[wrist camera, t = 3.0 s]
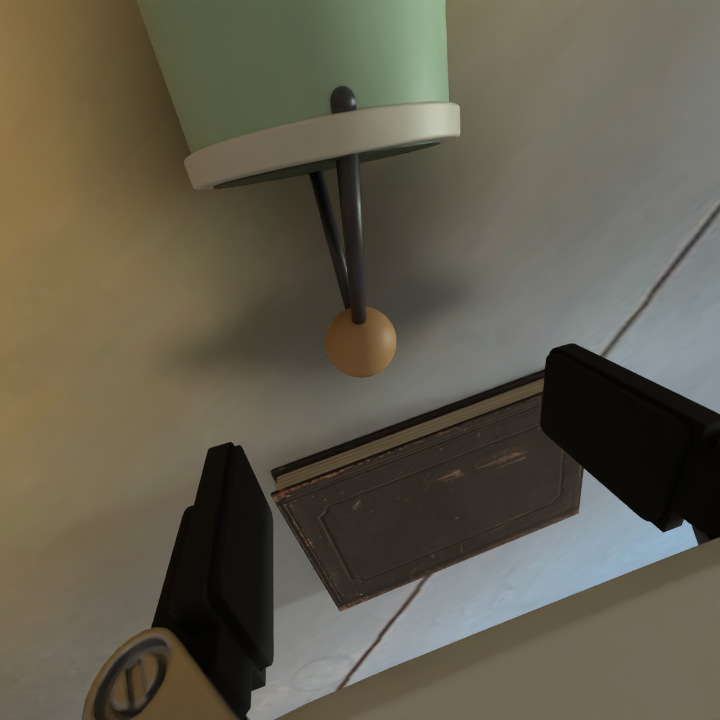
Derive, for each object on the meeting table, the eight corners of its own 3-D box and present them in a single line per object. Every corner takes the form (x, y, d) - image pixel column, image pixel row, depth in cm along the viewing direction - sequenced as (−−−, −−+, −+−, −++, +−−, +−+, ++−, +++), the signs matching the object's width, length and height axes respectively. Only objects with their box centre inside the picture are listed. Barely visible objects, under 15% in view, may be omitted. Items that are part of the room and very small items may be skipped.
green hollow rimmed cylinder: (110, -117, 11) (-317, -927, 3) (375, -140, 12) (576, -777, 4) (272, 355, 19) (272, 468, 11) (419, 317, 20) (511, 396, 12)
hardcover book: (271, 470, 23) (271, 497, 21) (569, 360, 25) (595, 375, 23) (337, 587, 31) (341, 615, 29) (560, 497, 33) (578, 517, 31)
